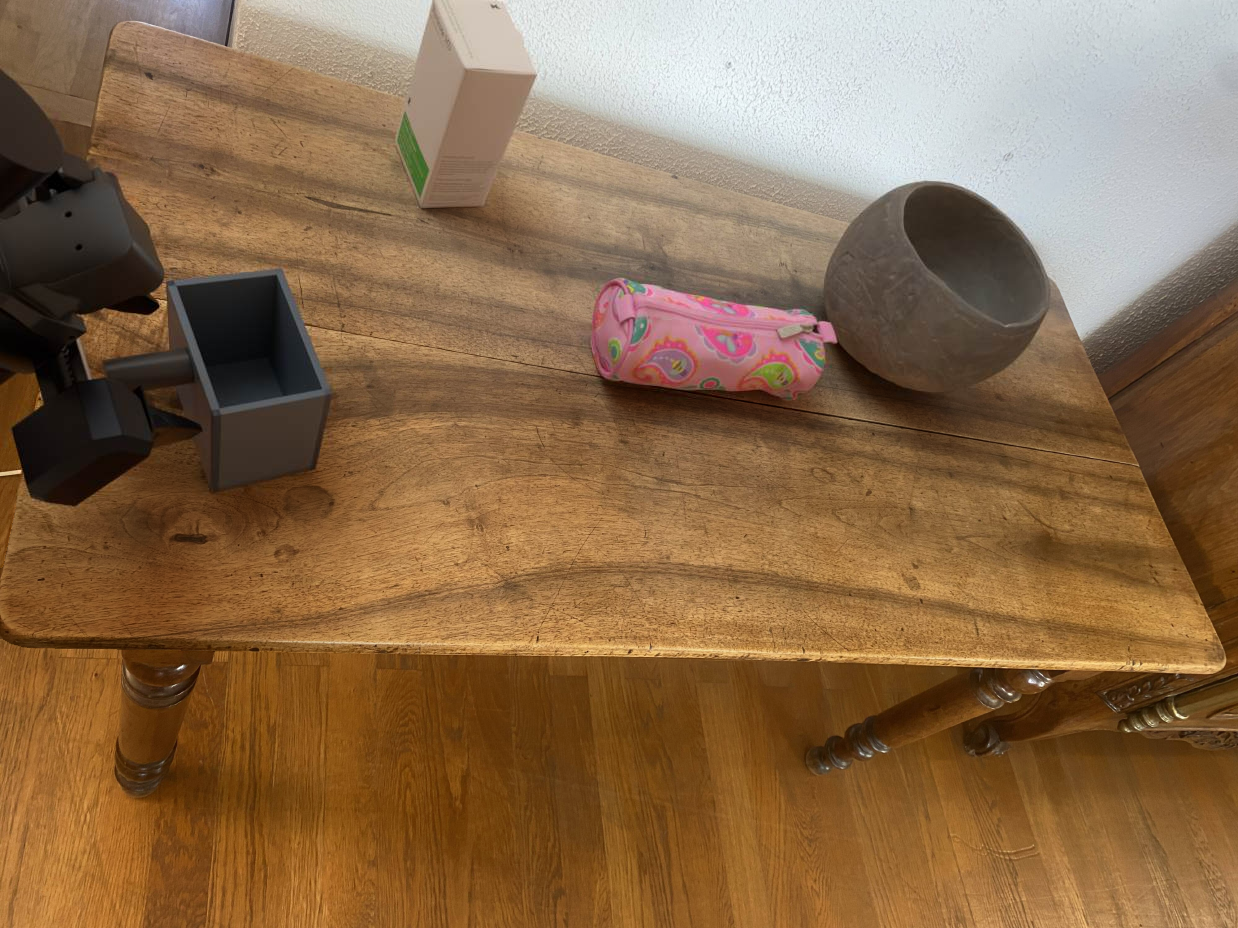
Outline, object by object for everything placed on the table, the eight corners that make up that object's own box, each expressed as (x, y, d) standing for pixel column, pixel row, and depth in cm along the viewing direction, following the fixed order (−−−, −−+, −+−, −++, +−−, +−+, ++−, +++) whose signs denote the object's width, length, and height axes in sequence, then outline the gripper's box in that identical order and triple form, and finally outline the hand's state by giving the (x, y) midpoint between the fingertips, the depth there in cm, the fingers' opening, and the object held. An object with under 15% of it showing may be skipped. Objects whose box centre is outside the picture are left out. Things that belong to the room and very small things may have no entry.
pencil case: (776, 343, 88) (827, 286, 80) (797, 421, 83) (853, 368, 76) (576, 315, 79) (614, 248, 72) (589, 400, 75) (630, 339, 68)
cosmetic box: (392, 142, 80) (427, -11, 68) (460, 143, 84) (504, -3, 71) (421, 212, 78) (462, 66, 65) (489, 210, 81) (541, 70, 69)
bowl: (914, 270, 103) (1008, 177, 91) (986, 423, 94) (1100, 343, 83) (768, 256, 94) (851, 151, 82) (833, 425, 85) (937, 334, 73)
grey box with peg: (137, 510, 56) (126, 433, 48) (97, 382, 59) (81, 289, 51) (316, 469, 62) (332, 393, 54) (272, 354, 65) (282, 268, 57)
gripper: (82, 350, 35) (328, 430, 49) (-19, 20, 40) (229, 180, 55) (-111, 488, 37) (180, 526, 51) (-181, 157, 42) (99, 276, 57)
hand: (175, 369), depth 53 cm, fingers open, 9 cm apart
